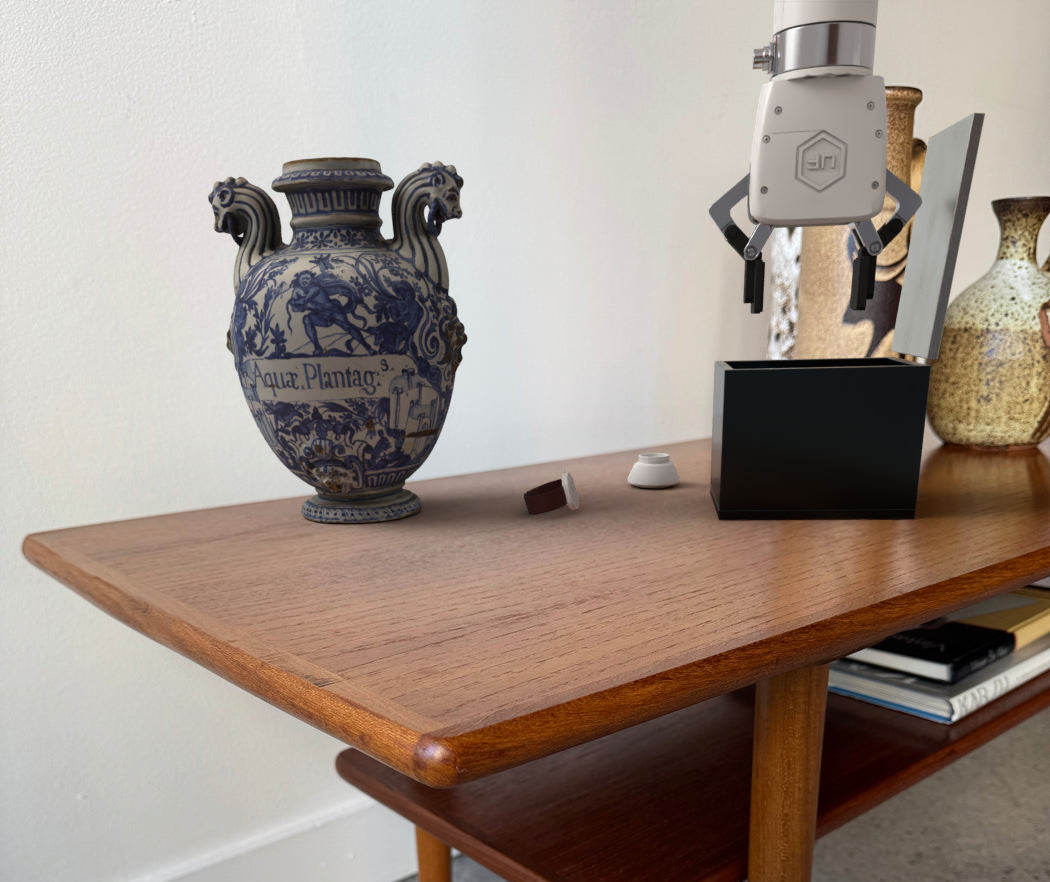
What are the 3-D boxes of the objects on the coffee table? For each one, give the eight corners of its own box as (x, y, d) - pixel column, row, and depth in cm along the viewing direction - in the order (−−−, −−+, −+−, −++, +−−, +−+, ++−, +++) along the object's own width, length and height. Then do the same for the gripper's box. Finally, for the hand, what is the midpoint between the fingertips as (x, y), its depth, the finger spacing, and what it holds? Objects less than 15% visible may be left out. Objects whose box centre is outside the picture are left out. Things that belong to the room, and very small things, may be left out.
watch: (570, 520, 87) (569, 476, 86) (515, 519, 88) (514, 476, 87) (584, 503, 94) (584, 463, 93) (533, 503, 95) (532, 462, 94)
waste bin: (718, 520, 86) (724, 370, 81) (709, 493, 97) (714, 360, 93) (914, 518, 84) (931, 365, 80) (881, 491, 96) (894, 356, 91)
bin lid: (973, 112, 73) (985, 113, 73) (928, 137, 85) (938, 138, 85) (926, 359, 80) (937, 359, 79) (890, 351, 91) (899, 351, 91)
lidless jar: (640, 480, 105) (619, 488, 101) (641, 450, 104) (619, 457, 100) (687, 483, 103) (667, 491, 99) (687, 452, 102) (667, 459, 98)
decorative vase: (203, 534, 86) (150, 154, 76) (286, 494, 103) (251, 180, 93) (455, 535, 83) (435, 139, 73) (497, 494, 100) (485, 168, 90)
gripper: (708, 59, 76) (701, 316, 83) (955, 44, 74) (928, 309, 81) (703, 79, 83) (696, 314, 89) (928, 66, 81) (906, 308, 88)
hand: (806, 310), depth 85 cm, fingers open, 7 cm apart
